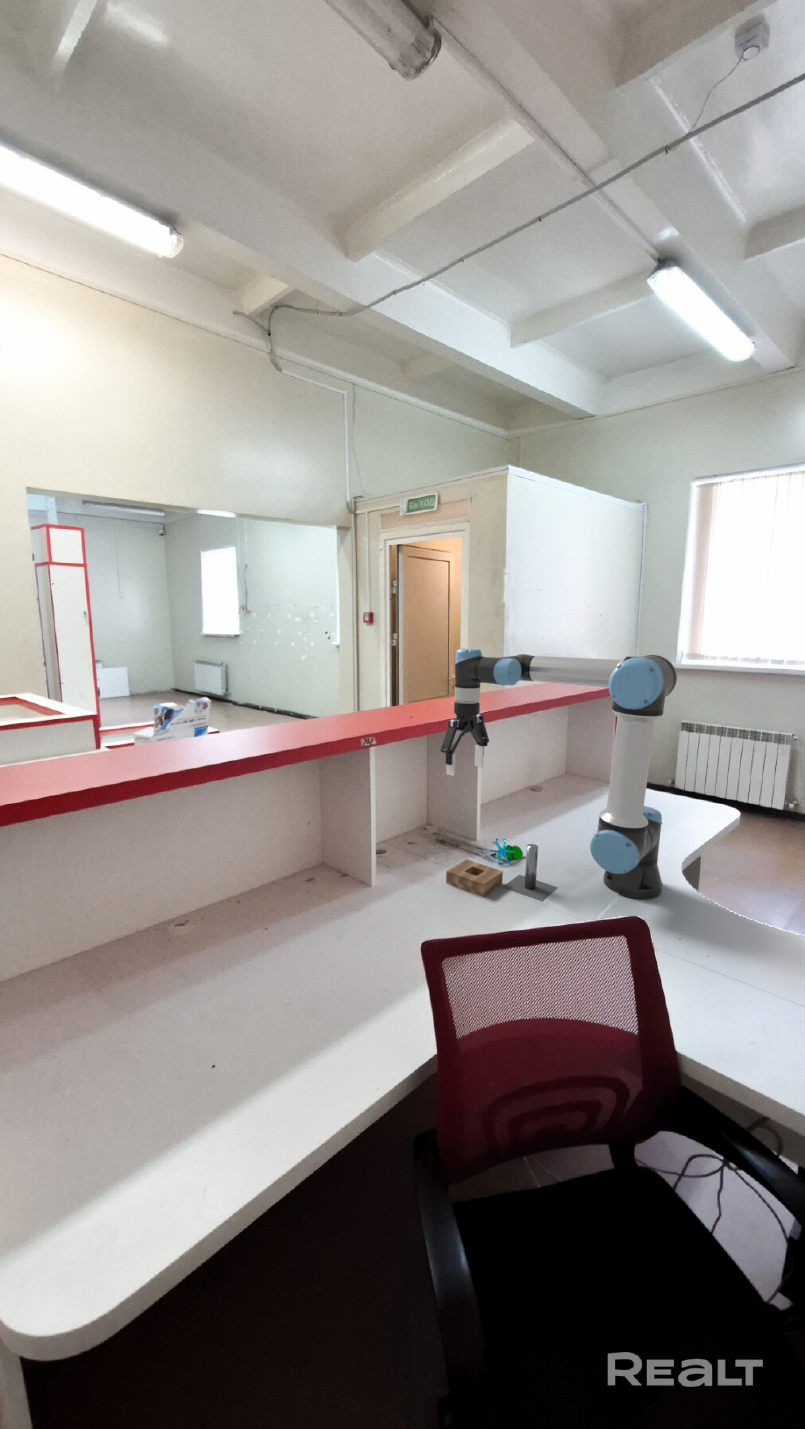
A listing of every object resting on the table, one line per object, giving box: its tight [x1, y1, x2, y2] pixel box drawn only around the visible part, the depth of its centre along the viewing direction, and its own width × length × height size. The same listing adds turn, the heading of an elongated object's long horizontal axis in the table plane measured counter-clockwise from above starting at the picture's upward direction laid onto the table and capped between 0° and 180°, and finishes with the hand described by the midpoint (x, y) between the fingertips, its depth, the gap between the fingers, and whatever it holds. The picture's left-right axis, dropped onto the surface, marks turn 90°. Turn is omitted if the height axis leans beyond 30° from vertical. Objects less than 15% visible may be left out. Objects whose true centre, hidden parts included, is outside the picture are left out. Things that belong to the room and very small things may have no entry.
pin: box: [524, 843, 539, 890], centre depth 159 cm, size 3×3×12 cm
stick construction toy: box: [489, 838, 524, 865], centre depth 179 cm, size 12×7×8 cm
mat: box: [501, 874, 559, 902], centre depth 160 cm, size 12×10×1 cm
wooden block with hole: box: [445, 858, 504, 898], centre depth 162 cm, size 12×10×4 cm
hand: (465, 770), depth 177 cm, fingers open, 13 cm apart
